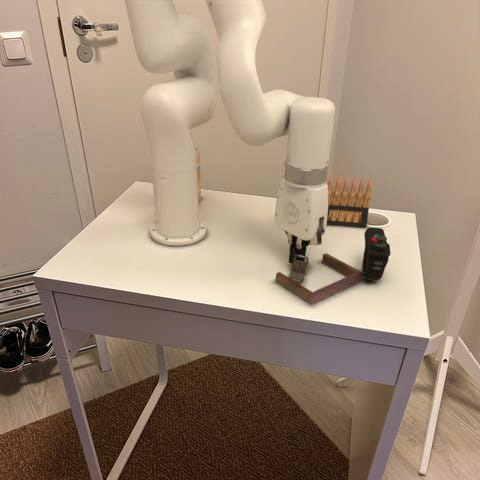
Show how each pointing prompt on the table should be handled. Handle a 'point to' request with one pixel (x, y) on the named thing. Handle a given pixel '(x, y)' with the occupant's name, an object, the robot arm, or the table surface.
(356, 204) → the ammunition clip
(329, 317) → the table surface
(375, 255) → the controller
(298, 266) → the strap clip
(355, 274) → the frame
